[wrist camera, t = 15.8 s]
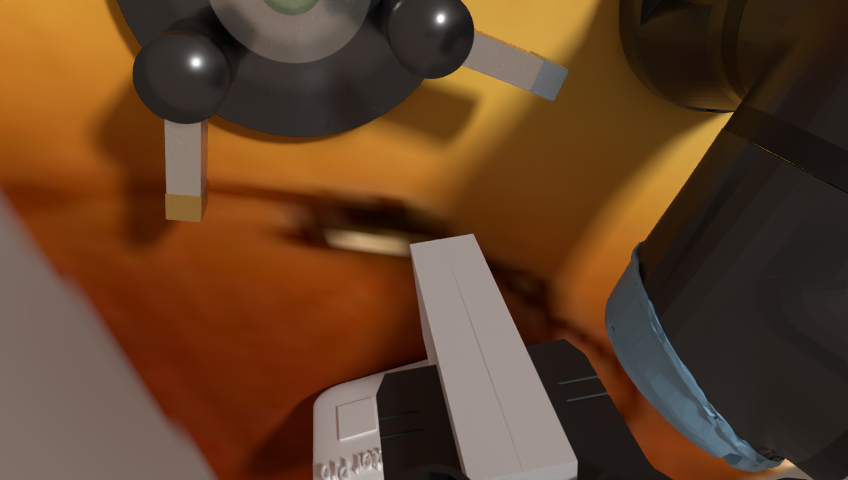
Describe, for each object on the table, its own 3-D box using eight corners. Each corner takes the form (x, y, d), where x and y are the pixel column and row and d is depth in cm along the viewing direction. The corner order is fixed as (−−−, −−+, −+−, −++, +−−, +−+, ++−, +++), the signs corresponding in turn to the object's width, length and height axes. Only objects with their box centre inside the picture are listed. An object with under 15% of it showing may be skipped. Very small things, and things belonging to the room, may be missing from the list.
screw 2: (369, 40, 35) (378, 62, 30) (394, -34, 34) (408, -25, 29) (515, 96, 39) (546, 124, 34) (545, 31, 37) (583, 50, 32)
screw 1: (159, 11, 33) (130, 28, 28) (240, 23, 34) (227, 43, 29) (164, 178, 38) (140, 221, 32) (235, 185, 39) (222, 227, 33)
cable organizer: (345, 461, 55) (352, 582, 45) (310, 381, 50) (309, 499, 40) (497, 417, 56) (537, 527, 46) (479, 333, 50) (520, 438, 40)
